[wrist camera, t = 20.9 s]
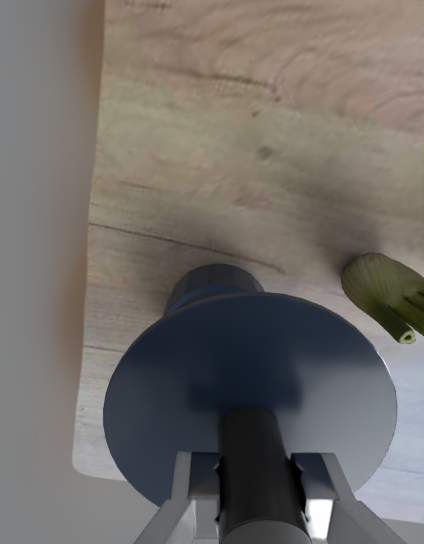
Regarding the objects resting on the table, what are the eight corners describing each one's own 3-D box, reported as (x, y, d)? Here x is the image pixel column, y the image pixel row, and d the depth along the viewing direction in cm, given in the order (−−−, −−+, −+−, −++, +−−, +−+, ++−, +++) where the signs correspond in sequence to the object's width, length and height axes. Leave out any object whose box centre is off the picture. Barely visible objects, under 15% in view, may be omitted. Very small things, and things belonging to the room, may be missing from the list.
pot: (152, 283, 31) (137, 308, 25) (250, 249, 30) (259, 267, 24) (189, 365, 34) (185, 404, 29) (279, 337, 33) (294, 372, 27)
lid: (62, 339, 12) (-45, 450, 7) (352, 242, 10) (471, 295, 6) (172, 527, 15) (153, 691, 10) (402, 471, 14) (503, 628, 9)
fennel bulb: (330, 290, 31) (396, 354, 20) (339, 246, 30) (418, 289, 18) (382, 294, 31) (478, 360, 20) (394, 250, 30) (506, 296, 19)
